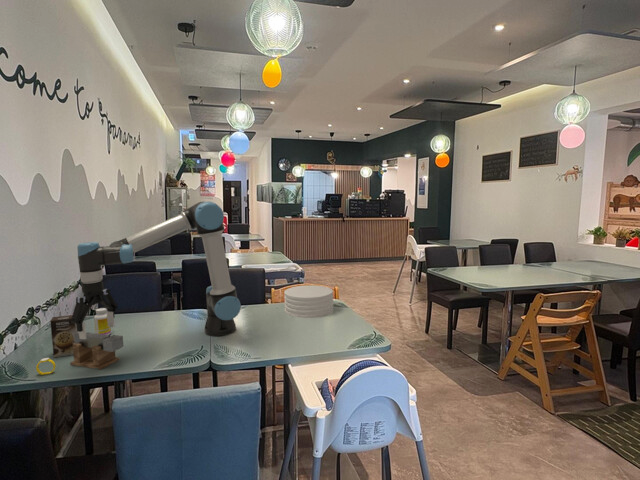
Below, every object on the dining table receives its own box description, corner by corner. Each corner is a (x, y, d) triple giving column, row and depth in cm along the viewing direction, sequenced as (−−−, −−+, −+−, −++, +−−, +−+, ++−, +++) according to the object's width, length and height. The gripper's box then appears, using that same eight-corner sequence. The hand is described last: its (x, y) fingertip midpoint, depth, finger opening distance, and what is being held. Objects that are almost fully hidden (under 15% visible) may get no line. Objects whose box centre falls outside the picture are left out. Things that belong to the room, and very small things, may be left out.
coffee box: (53, 358, 164) (49, 321, 162) (56, 352, 170) (52, 316, 168) (78, 354, 168) (74, 317, 166) (80, 348, 174) (77, 313, 172)
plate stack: (290, 302, 242) (290, 284, 240) (335, 304, 238) (335, 285, 236) (279, 317, 214) (279, 297, 213) (330, 318, 210) (329, 298, 209)
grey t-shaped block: (123, 346, 157) (122, 335, 157) (112, 351, 152) (111, 340, 151) (84, 341, 163) (83, 331, 163) (73, 346, 158) (71, 335, 157)
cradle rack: (119, 360, 161) (118, 340, 160) (101, 369, 152) (99, 348, 151) (89, 355, 166) (87, 336, 165) (70, 364, 157) (68, 344, 156)
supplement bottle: (114, 333, 192) (112, 308, 191) (101, 338, 186) (99, 312, 185) (105, 331, 195) (103, 306, 193) (92, 336, 189) (90, 310, 187)
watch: (36, 377, 148) (33, 362, 147) (39, 373, 150) (36, 359, 149) (54, 373, 149) (52, 358, 149) (57, 370, 152) (54, 356, 151)
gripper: (109, 274, 167) (114, 321, 170) (55, 288, 144) (62, 343, 147) (123, 274, 165) (128, 322, 168) (70, 289, 142) (77, 345, 144)
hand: (97, 332), depth 157 cm, fingers open, 13 cm apart
